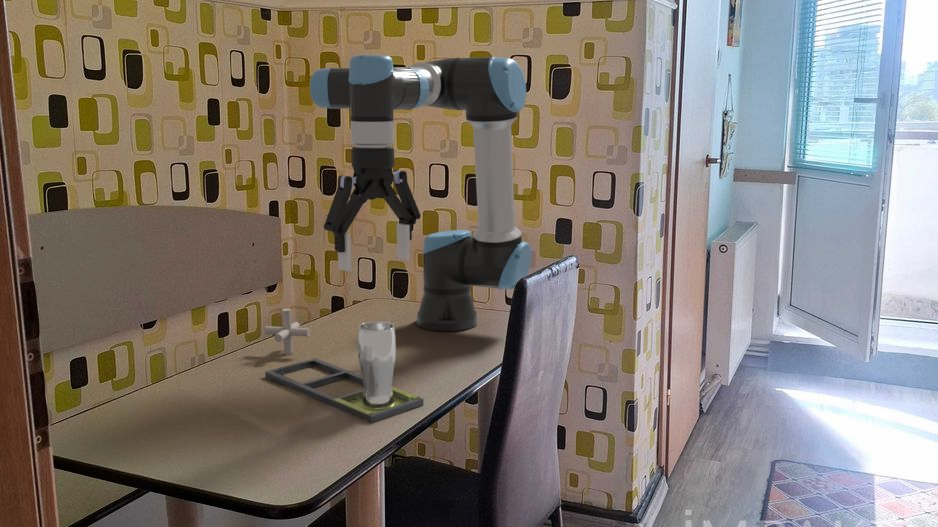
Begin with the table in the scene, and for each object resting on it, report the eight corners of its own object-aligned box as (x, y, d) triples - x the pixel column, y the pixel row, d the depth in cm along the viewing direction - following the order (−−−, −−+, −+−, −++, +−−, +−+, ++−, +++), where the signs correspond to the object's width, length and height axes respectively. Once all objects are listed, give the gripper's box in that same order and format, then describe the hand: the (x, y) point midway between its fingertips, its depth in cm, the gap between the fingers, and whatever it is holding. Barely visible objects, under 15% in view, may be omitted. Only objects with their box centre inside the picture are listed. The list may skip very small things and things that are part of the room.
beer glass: (372, 394, 165) (371, 319, 162) (403, 400, 162) (402, 323, 158) (351, 406, 159) (349, 328, 155) (383, 413, 155) (382, 333, 152)
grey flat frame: (315, 363, 183) (315, 357, 183) (423, 405, 160) (423, 397, 160) (265, 377, 175) (265, 370, 174) (371, 423, 151) (371, 415, 151)
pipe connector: (301, 361, 184) (299, 316, 182) (257, 359, 186) (255, 314, 184) (317, 348, 194) (316, 305, 192) (276, 345, 196) (274, 303, 194)
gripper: (411, 141, 162) (412, 251, 166) (300, 148, 144) (305, 271, 149) (439, 143, 157) (439, 257, 161) (327, 150, 139) (331, 278, 144)
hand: (375, 264), depth 155 cm, fingers open, 13 cm apart
